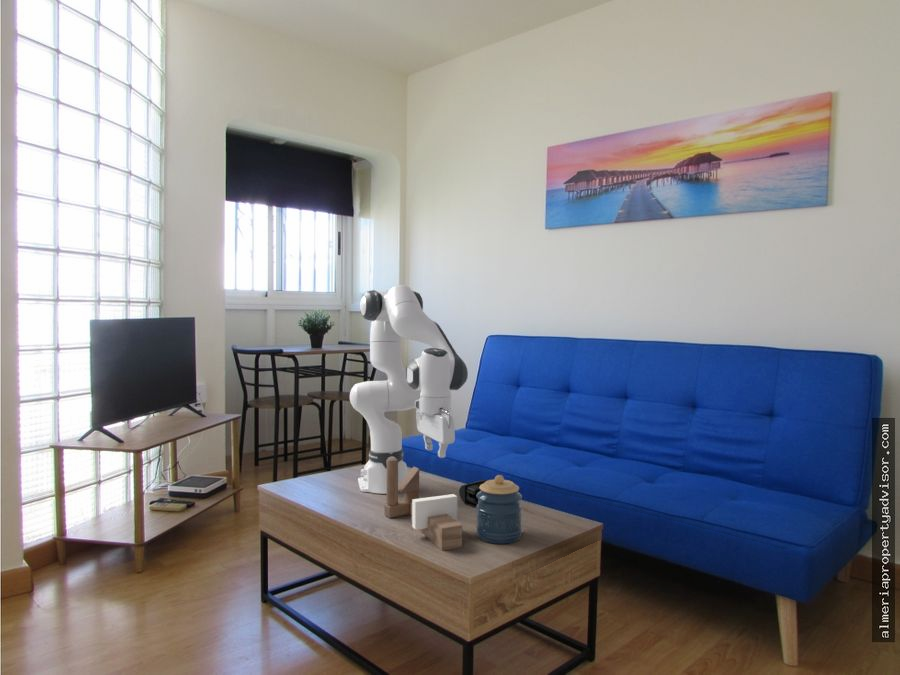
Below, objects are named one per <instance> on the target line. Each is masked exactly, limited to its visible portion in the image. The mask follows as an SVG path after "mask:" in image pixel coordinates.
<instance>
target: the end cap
mask: <svg viewBox="0 0 900 675" xmlns="http://www.w3.org/2000/svg"><path fill="white" fill-rule="evenodd" d="M486 481H488V479H482V480H478V481H474V482H470V483H466V484H465V483H464V484H462V485H461V486H460V487H459V492H458V493H459V494H458V495H459V498H460V499H461V500H460V501H462V502H463V503H464V505H466V506H468V507H470V508H471V507H472V508H474V509H475V508H477V507H476V506H477V504H478V498H477V496H476V495H477V493H478V492H479V491H481V490H480V488H479V487H480V485H481V484H483V483H485V482H486Z"/></svg>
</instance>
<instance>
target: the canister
mask: <svg viewBox="0 0 900 675" xmlns="http://www.w3.org/2000/svg"><path fill="white" fill-rule="evenodd" d="M479 488H480V490H481V491H479V492H478V493H477V495H476V496H477V498H478V504H477V506H476V507H475V508H476V526H475V527H476V530H475V531H476V536H477V538H478V539H480V540H481V541H483V542H486V543H490V544H500V545H501V544H503V545H504V544H510V543H514V542H517V541H519V539H521V536H522V532H523V531H522V530H523V528H522V510H523V507H522V505H521V500H522V499H523V495H522V494H521V493H520V492H518V491H519V490H520V486H519V485H517V484H516V483H514V482H513V481H511V480H508V479H505V478H504V476H503V475H502V474H497V475H496V476H494V479H487V481H486V482H485V483H483V484H481V485H480V487H479Z"/></svg>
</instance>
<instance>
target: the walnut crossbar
mask: <svg viewBox="0 0 900 675" xmlns="http://www.w3.org/2000/svg"><path fill="white" fill-rule="evenodd" d="M410 523H411V524H412V502H411V514H410ZM418 530H419V531H420V532H422V534H423V535H425V536H426V537H427V538H428V539H429V541H431V542H432V543H433V544H434V545H435V546H436V547H437V548H439V549H440V550H441V551H447V550H452V549H457V548H462V547H463V525H462V524H461V523H460V522H458V520H457V521H456V520H454V519H453V518H452V517H451V516H449V515H448V514H445V515H438V516H431V517H428V528H424V529H418Z"/></svg>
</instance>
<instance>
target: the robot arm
mask: <svg viewBox="0 0 900 675" xmlns="http://www.w3.org/2000/svg"><path fill="white" fill-rule="evenodd" d="M359 309H360V313H361V316H362V317H363V318H364V319H365V320H366V321H371V323H370V333H369V334H370V335H369V358H370V359H369V360H370V364H371V366H372V367H373V368H375V369H376V370H379V371H380V372H383V374H385V375H386V377H387V379H386V380H366V381H362V382H357V383H355V384H354V385H353V386H352V387H351V389H350V392H349V403H350V404H351V406H352V407H353V409H354V410H355V411H356V412H358V413H359V414H360V415H362V417H363V418H364V419H365V421H366V423H367V426H368V428H369V436H370V449H369V453H368V461H367V462H366V463H365V465H364V468H361V469H360V476H361V477H358V478H357V483H358V486H359V491H361V492H363V493H372V494H383V495H384V494H386V495H387V459H389V458H396V459H398V486H399V485H400V483H401V482H402V481H403V480H404V478H405V477H406V476H407V474H408V470H407V469H408V468H407V466H408V465H407V463H406V462H405V461H403V459H404V450H403V447H402V446H403V445H402V443H403V442H402V441H403V440H402V438H403V436H402V435H403V434H402V432H403V431H402V428H401V426H400V425H399V424H398V423H397V422H395V421H394V420H391V419H389V418H387V417H386V416H385V413H386V412H401V411H402V412H403V411H409V410H412V409H416V414H415V418H416V429H417V431H418V432H419V433H420V434H422V435H423V442H424V447H425V450H426V451H433V449H434V447H433V446H434V445H433V442H432V440H434V441H436V442H437V443H438V446H439V448H438V450H437V457H438V458H440V459H444V458H446V457H447V456H446V454H447V453H446V452H447V449H448V447H449V445H452V444H454V442H455V440H456V432H455V431H456V430H455V421H454V417H453V416H452V415H451V414H450V412H452V410H451V408H452V393H451V391H458V390H460V389H461V388H462V387H463V386H464V385H465V383H466V382H467V381H468V374H469V372H468V368H467V364H466V363H465V362H464V360H463V359H462V358H461V357H460V356H459V355H458V353H457V352H456V350H455V349H454V347H453V345H452V343H451V342H450V340H449V339H448V337H447V335H446V334H445V333H444V331H443V329H442V327H441V326H440V324H438V323H437V322H436V321H435V320H433V319H431V318H430V317H429V316H428V315H427V314H426V313H425V312H424V311H423V310H424V301H423V297H422V296H421V293H420V292H416V291H414V290H413V289H411V288H410V287H409V286H407V285H404V284H398V285H395V286H393V287H391V288H390V289H383V290H382V289H381V290H375V289H373V290H372V289H371V290H367V291H365V292H364V293H363V294H362V295H361V298H360V302H359ZM402 339H406V340H410V341H415V342H419V343H424V344H426V345H428V346H430V348H426V349H423V351H422V352H421V355H420V356H419V357H417V358H414V359H411V361H409V363H408V364H407V366H406V367H404V364H403V359H402V342H401V341H402Z"/></svg>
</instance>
